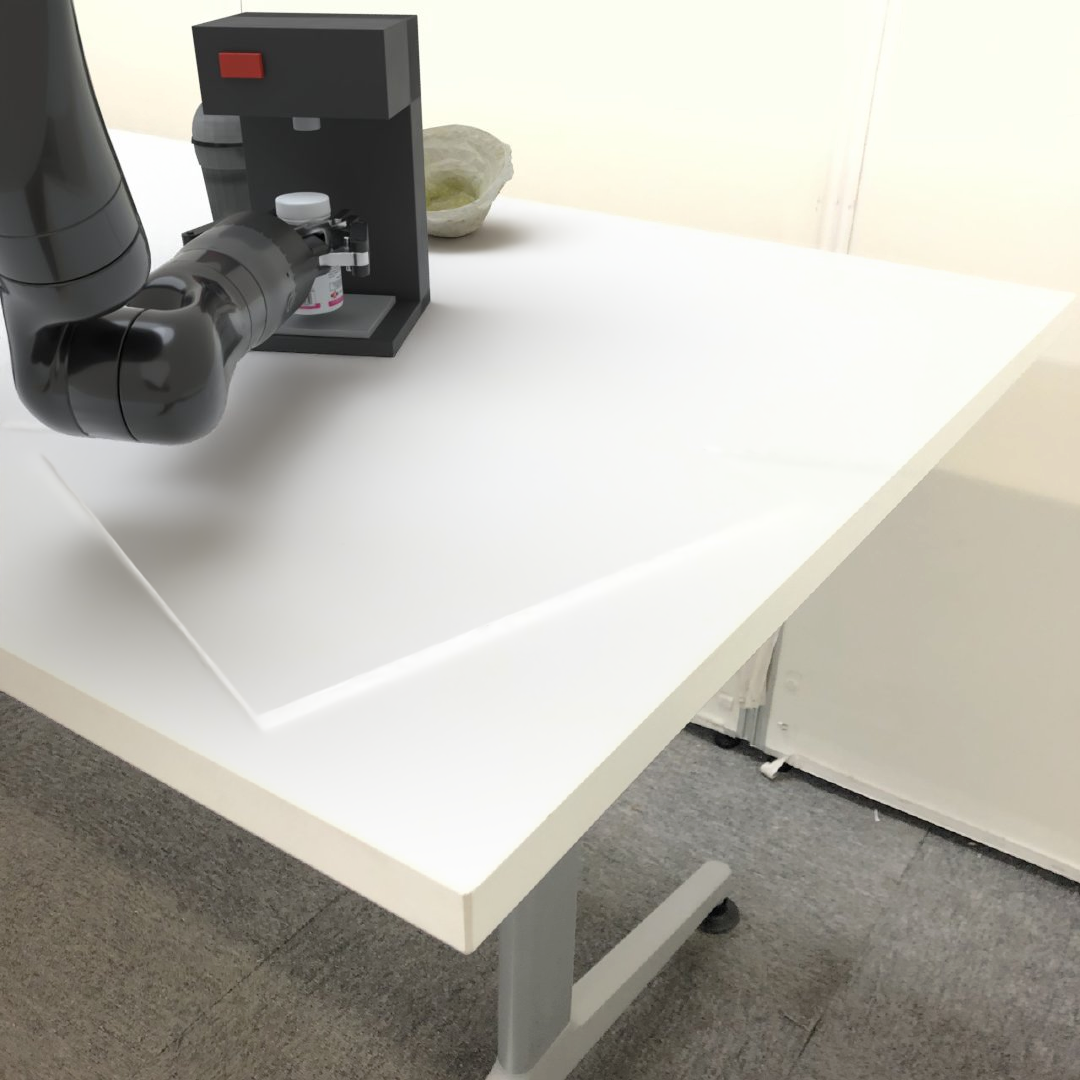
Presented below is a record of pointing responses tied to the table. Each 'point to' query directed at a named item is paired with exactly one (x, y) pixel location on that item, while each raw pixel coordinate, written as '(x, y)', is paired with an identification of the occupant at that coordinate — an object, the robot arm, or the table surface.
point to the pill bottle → (329, 286)
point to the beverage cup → (221, 162)
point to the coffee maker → (333, 152)
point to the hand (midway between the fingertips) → (315, 221)
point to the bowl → (462, 177)
